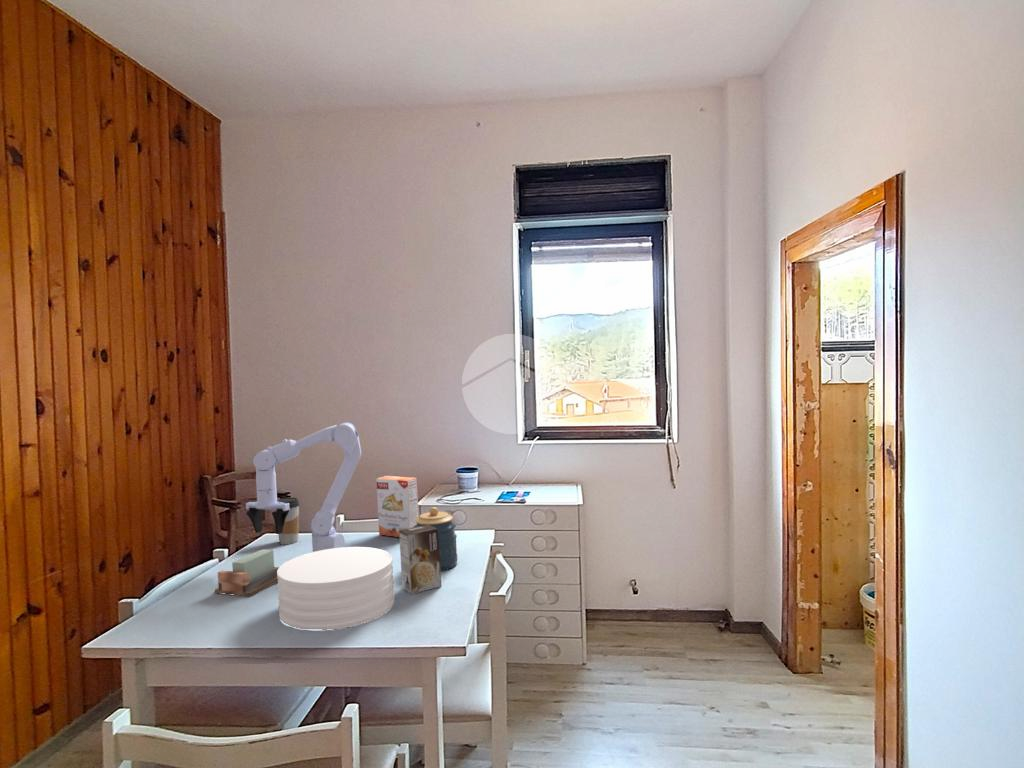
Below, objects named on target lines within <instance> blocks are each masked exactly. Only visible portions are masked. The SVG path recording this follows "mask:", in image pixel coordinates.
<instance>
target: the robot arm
mask: <svg viewBox="0 0 1024 768" xmlns="http://www.w3.org/2000/svg"><path fill="white" fill-rule="evenodd" d="M323 442H327V443H333V442H336V444H337V445H338V446H339V447H341V449H342V452H343V455H344V458H343V461H342V463H341V465H340V468H339V470H338V471H337V474H336V476H335V478H334V480H333V483H332V484H331V487H330V489H329V491H328V493H327V496H326V497H325V500H324V502H323V504H322V505H321V508H320V509H318V511H316V513H315V514H314V517H313V518H312V520H311V522H310V528H311V530H312V531H311V543H312V545H311V546H312V552H316V551H320V550H326V549H333V548H342V547H346V543H345V542H346V541H345V536H344V535H343V534H342V533H339V532H337V531H336V528H335V527H334V525H333V524H334V523H335V519H336V518H335V517H336V516H335V513H336V512H337V509H338V507H339V505H340V502H341V500H342V498H343V496H344V494H345V492H346V489H347V488H348V485H349V483H350V481H351V479H352V477H353V476H354V475H353V474H354V472H355V470H356V468H357V465H358V464H359V462H360V459H361V457H362V448H361V441H360V435H359V431H358V430H357V429H356V427H355V425H353V423H351V422H346V421H345V422H341V423H340V424H335V425H331V426H328V427H324V428H322V429H320V430H318V431H315V432H313V433H311V434H310V435H309V434H308V435H307V436H305V437H302V438H301V439H298V440H294V439H287V438H285V439H283V440H281V442H280V443H278V444H276V445H273V446H272V445H271V446H267V448H266V449H264V450H263V449H262V451H261V450H260V451H259V452H258V453H256V455H254V457H253V462H252V463H253V465H254V467H255V472H256V473H255V481H256V482H255V483H256V485H255V486H256V501H248V502H246V503H245V509H246V510H248V511H246V515H247V517H248V518H249V520H250V521H251V524H252V526H253V528H254V531H255V534H258V533H261V532H262V531H263V515H264V510H271V511H272V510H273V512H271V515H272V517H273V521H274V529H275V534H276V535H278V534H280V533H282V531H283V526H284V522H285V519H286V517H287V515H288V513H289V509H290V508H289V503H283V502H277V500H278V493H277V490H278V489H277V475H276V466H275V465H279V464H282V463H285V462H287V461H289V460H291V459H294V458H296V457H298V456H299V454H300V451H302V450H304V449H307V448H310V447H312V446H314V445H317V444H319V443H323ZM275 510H277V511H275Z"/></svg>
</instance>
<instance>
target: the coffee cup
mask: <svg viewBox="0 0 1024 768" xmlns="http://www.w3.org/2000/svg"><path fill="white" fill-rule="evenodd" d="M277 502H283V503H289V508H290V509H289V513H288V515H287V517H286V519H285V522H284V526H283V531H282V533H280V534H277V535H278V542H279V544H281V545H292V544H295V543H297V542H298V540H299V529H300V501H299V499H298V497H283V498H277ZM275 511H277V510H274V512H275Z"/></svg>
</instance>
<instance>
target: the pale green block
mask: <svg viewBox="0 0 1024 768" xmlns="http://www.w3.org/2000/svg"><path fill="white" fill-rule="evenodd" d="M231 563H232V564H231V565H232V571H234V572H246V573H249V582H250V581H252V580H254V579H256V578H258V577H260V576H262V575H264V574H266V573H268V572H270V571H272V570H274V567H275V557H274V550H273V549H264V548H263V549H260V550H257V551H255V552H253V553H251V554H248V555H246V556H244V557H241V558H240V559H237V560H234V561H232V562H231Z"/></svg>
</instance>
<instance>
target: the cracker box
mask: <svg viewBox="0 0 1024 768" xmlns="http://www.w3.org/2000/svg"><path fill="white" fill-rule="evenodd" d="M418 493H419V492H418V478H417V477H411V476H410V477H408V476H407V477H406V476H397V475H396V476H394V475H384V476H380V477H378V478H376V496H377V498H376V499H377V517H378V534H379V535H378V536H382V535H388V536H387V537H389V536H396V537H395V538H397V537H399V530H404V529H409V528H413V527H414V526H415V525H416V524H417V523H416V521H415V519H416V518H418V517H419V516H420V515H419V500H418V499H419V497H418V496H419V495H418Z"/></svg>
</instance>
